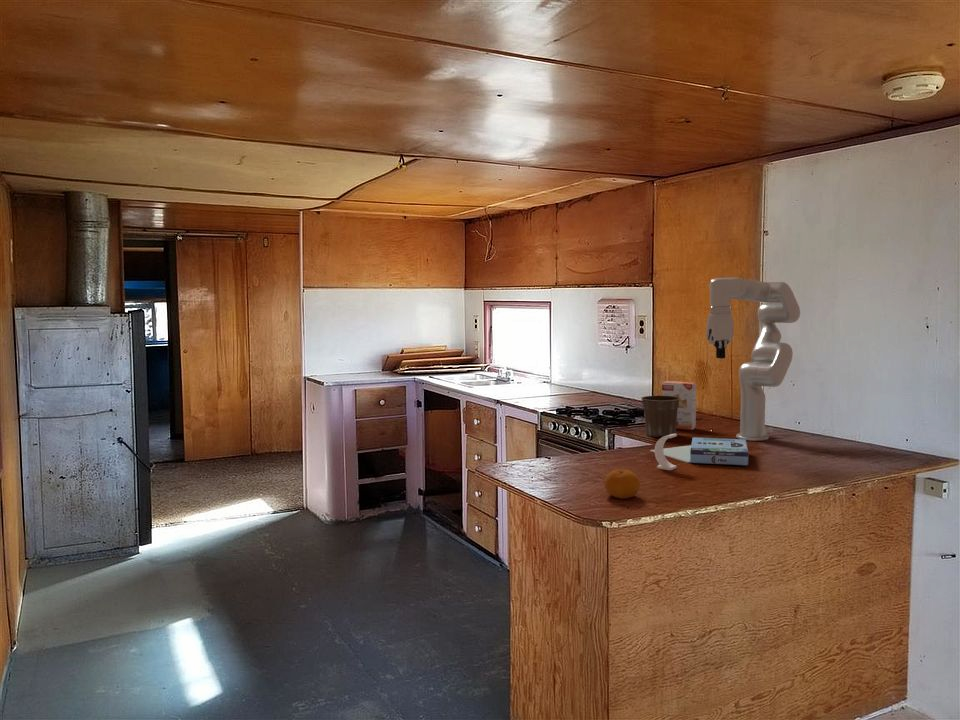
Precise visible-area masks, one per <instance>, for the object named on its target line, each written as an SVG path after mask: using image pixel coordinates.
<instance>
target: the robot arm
mask: <svg viewBox="0 0 960 720" xmlns="http://www.w3.org/2000/svg"><path fill="white" fill-rule="evenodd" d="M708 290H709V309H710V310H709V314H708V317H707V321H706V334H705V336H706V340H708V344H709V345H713V346H714V348H715V354H716V356H715V357H716V358H717V359H720V360H721V359H725V358H726V348H727V347H728V346H727V345H728V344H730V343H732V342H733V338H734V330H735V329H734V320H733V315H732V313H731V311H732V310H733V307H731V305H732V304H731V303H732V301H731V300H739V301H747V302H756V303H762V304H760V306H758V309H757V319H758V323H759V329H760V332H759V335H758V338H757V339H756V342H755V344H754V345H753V348H752V351H751V355H750V356H751V360H752V361H748V362H744V363H742V364H741V365H740V366H739V369H738V379H739V384H740V424H739V427H740V428H739V429H740V430H739V431H740V432H738V433H736V436H735V437H736V438H737V439H743V440H746V441H755V442H757V441H758V442H759V441H760V442H761V441H768V440H769V435H768V433H773V432H774V428H773V427H767V426H766V393H765V392H764V390H763V388H762V387H768V388H769V387H770V388H776V387H779V386H780V385H781V384H782V383H783V381H784V380H785V377H786V374H788V373H787V372H788V370H789V368H790V366H791V363H792V360H793V354H794V352H793V348H792V346H791V345H790V344H788V343H787V342H781V339H782V334H781V332H780V329H779V328H778V327H777V325H776V324H777V323H779V324H780V323H781V324H783V323H784V324H791V323H792V324H793V323H797V322H798V320H799V319H800V316H801V309H800V305H799V304H798V301H797V299H796V297H795V293H794V292H793V290H792V289H791V287H790V285H789V284H788V283H786V282H785V281H780V282H779V281H773V282H770V281H769V282H767V281H761V280H755V279H745V278H743V277H740V276H739V277H737V276H736V277H735V276H734V277H731V276H730V277H716V278H712V279H711V280H710V283H709V285H708Z"/></svg>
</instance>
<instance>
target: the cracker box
mask: <svg viewBox="0 0 960 720" xmlns="http://www.w3.org/2000/svg"><path fill="white" fill-rule="evenodd" d="M661 396H675V397H679V398H680V400H679V407H678V411H677V423H676V430H686V431H692V430H695V429H696V425H697V424H696V423H697V382H689V381H688V382H687V381H676V380H674V381H672V380H665V381H662V383H661Z"/></svg>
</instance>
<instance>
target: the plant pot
mask: <svg viewBox="0 0 960 720" xmlns="http://www.w3.org/2000/svg"><path fill="white" fill-rule="evenodd" d="M640 400H641V401H642V408H643V414H644V420H645V423H644V424H645V433H646V435H647V436H649V437H651V438H659V437H661V438H662V437H664V436H667V435H670V434H677V429H676V423H677V411H678V407H679V400H680V398H679V397H675V396H662V395H646V396H642V397H640Z"/></svg>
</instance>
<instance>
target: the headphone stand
mask: <svg viewBox="0 0 960 720" xmlns="http://www.w3.org/2000/svg"><path fill="white" fill-rule="evenodd" d="M675 437H678V434H677V433H676V434H670V435H667V436H664V437H662V436H661V437H660V438H659V439H658V440H657V441H656V442H655V445H654V450H655V453H654V457H655V459H656V462H657V463H658V465H656V469H660V470H666V471H673V470H674V469H677V465H675V464H673V463H671V462H669V460H668V459H667V457H666V456H665V455H664V452H663V449H664V447H665V443H666V441H667V440H668V439H672V438H675Z"/></svg>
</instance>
